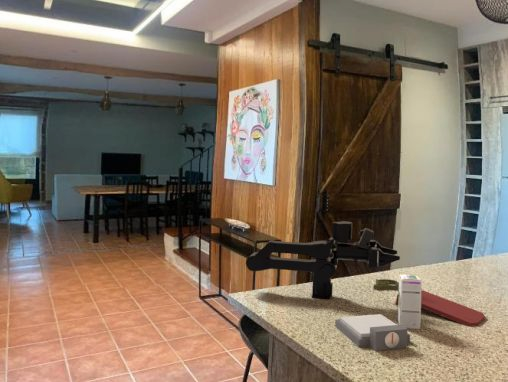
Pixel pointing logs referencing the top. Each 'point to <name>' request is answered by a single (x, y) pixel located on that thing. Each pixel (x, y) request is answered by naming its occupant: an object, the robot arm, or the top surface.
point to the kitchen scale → (373, 332)
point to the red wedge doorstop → (450, 309)
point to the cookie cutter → (386, 284)
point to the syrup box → (409, 301)
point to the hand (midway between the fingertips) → (398, 255)
